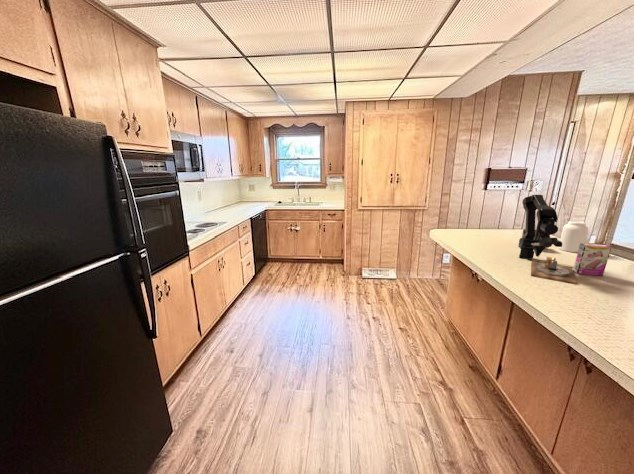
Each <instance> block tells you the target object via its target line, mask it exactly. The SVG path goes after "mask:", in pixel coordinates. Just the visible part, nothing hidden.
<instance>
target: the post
mask: <svg viewBox="0 0 634 474" xmlns="http://www.w3.org/2000/svg"><path fill="white" fill-rule="evenodd" d="M557 264H558V261H557V260H556V261H554V260H552V261H551V266H550V270H554V271H555V270H556V266H558V265H557Z"/></svg>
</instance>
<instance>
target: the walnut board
mask: <svg viewBox="0 0 634 474" xmlns="http://www.w3.org/2000/svg"><path fill="white" fill-rule="evenodd" d="M537 265H546V262H544V263H543V262H538V261H537V262H536V261H531V263H530V276H531V277H534V278H535V277H536V278H541V279H546V280H552V281H555V282H556V281H557V282H561V283H562V282H563V283H568V284H573V285H577V284H578V281H577V279H576V275H575V272H574V271H573V268H572V267H569V266H561V265H557V266H558V267H561V268H564V269H567V270H568V271H569V273H570V274H569V275H567V276H556V275H550V274H546V273H543V272H541V271H538V269H537V268H536V267H537Z"/></svg>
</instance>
